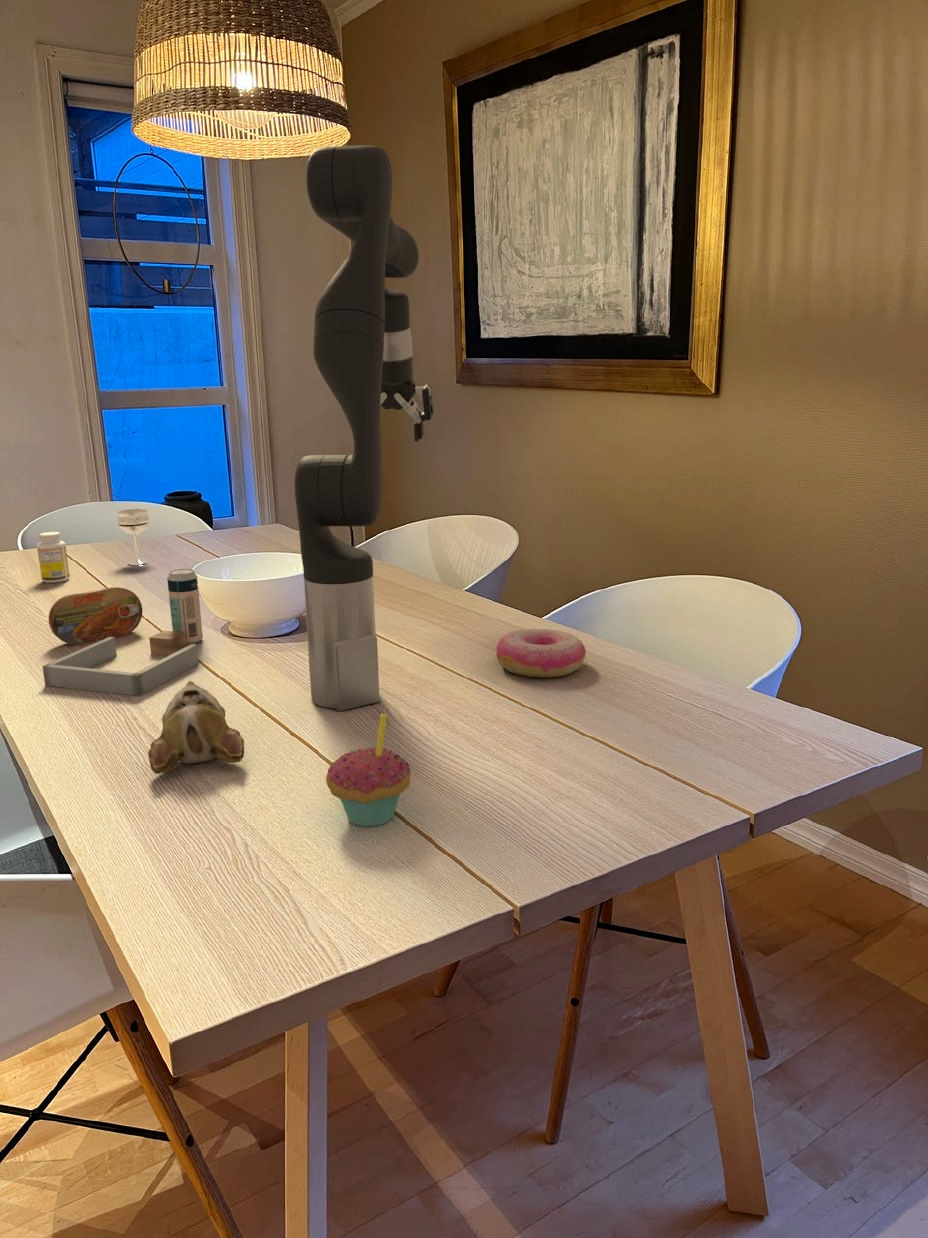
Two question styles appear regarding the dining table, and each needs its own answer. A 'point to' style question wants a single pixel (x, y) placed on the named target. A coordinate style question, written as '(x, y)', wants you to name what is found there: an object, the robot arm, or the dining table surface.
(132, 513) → the wineglass
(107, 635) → the tin
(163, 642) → the tan wooden block
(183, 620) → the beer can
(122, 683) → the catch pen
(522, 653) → the donut
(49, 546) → the supplement bottle
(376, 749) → the cupcake
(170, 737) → the ceramic sculpture
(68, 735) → the dining table surface
